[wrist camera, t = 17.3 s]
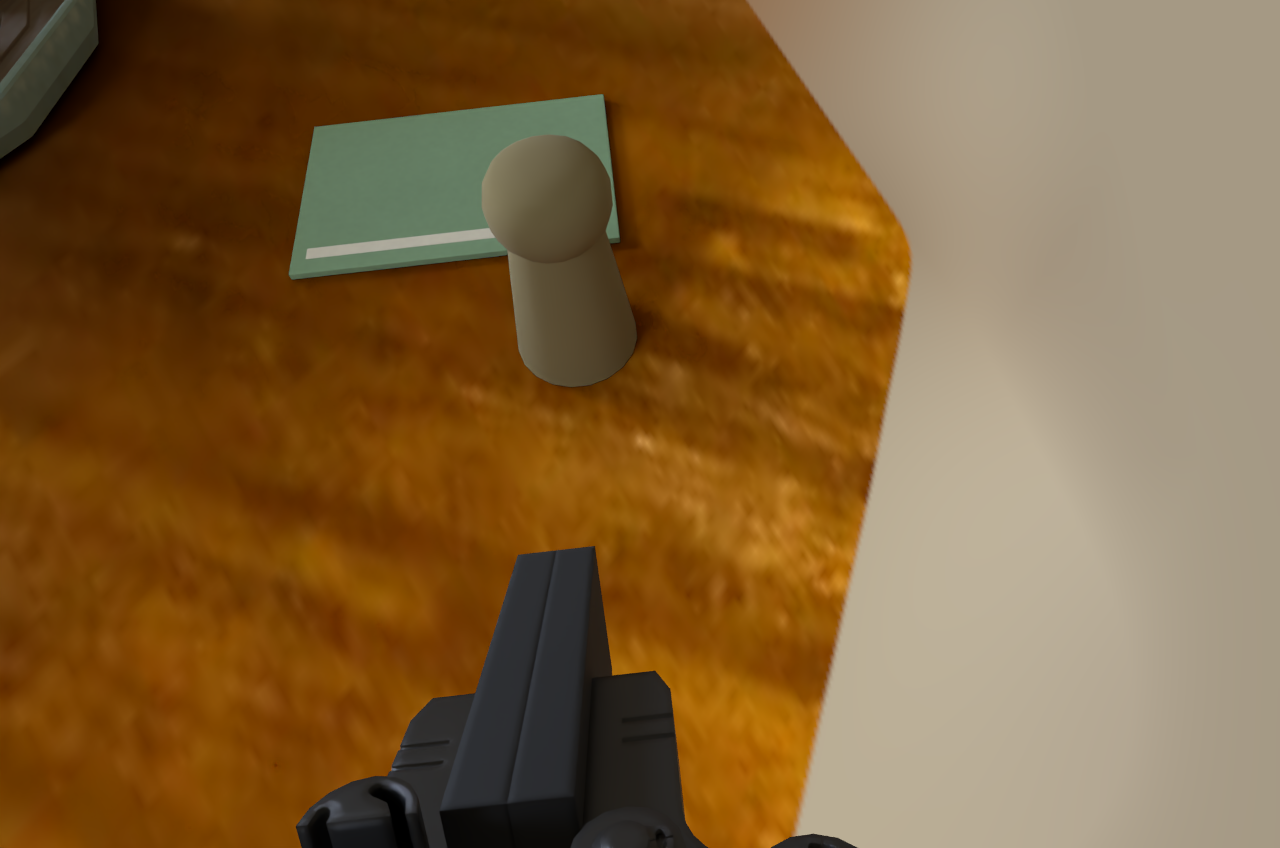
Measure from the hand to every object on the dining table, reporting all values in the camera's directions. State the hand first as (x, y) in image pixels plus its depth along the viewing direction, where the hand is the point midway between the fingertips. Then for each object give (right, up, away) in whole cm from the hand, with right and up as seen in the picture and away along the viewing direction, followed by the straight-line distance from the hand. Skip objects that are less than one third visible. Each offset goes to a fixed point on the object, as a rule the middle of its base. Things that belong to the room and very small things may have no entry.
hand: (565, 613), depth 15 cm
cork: (-2, +8, +24) cm, 25 cm away
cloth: (-9, +18, +29) cm, 35 cm away
